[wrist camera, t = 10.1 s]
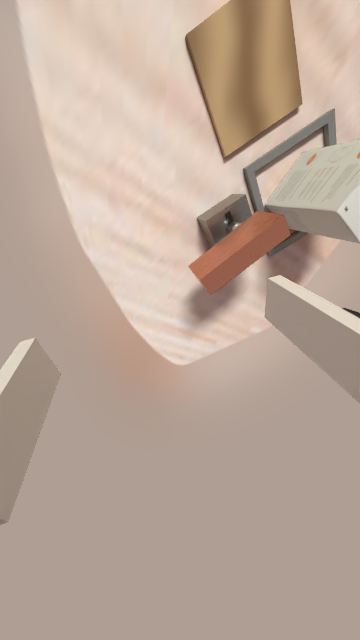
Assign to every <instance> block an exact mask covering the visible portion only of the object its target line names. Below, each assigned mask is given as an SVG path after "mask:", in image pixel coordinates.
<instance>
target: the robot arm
mask: <svg viewBox="0 0 360 640" xmlns="http://www.w3.org/2000/svg"><path fill="white" fill-rule="evenodd" d="M265 318H266V319H267V320H268V321H269V322H271V323H272V324H273V325H274V326H275V327H276V328H277V329H279V331H280V332H282V333H283V334H284V335H285V336H286V337H287V338H288V339H289V340H291V341H292V342H293V343H294V344H295V345H296V346H297V347H298V348H299V349H300V350H301V351H303V352H304V353H305V354H306V355H307V356H308V357H309V358H310V359H311V360H313V361H314V362H315V363H316V364H317V365H318V366H319V367H320V368H321V369H323V370H324V371H325V372H326V373H327V374H328V375H329V376H330V377H331V378H332V379H333V380H335V381H336V382H337V383H338V384H339V385H340V386H341V387H342V388H343V389H345V390H346V391H347V392H348V393H349V394H350V395H351V396H352V397H353V398H354V399H356V400H357V401H358V402H359V403H360V313H358V312H355V311H352V310H349V309H346V308H340V307H338V306H336V305H334V304H332V303H331V302H329V301H327V300H325V299H323V298H321V297H320V296H318V295H316V294H314V293H312V292H310V291H309V290H307V289H305V288H303V287H301V286H299V285H297V284H296V283H294V282H292V281H290V280H288V279H286V278H285V277H283V276H281V275H278V276H274V277H270V278H268V282H267V295H266V307H265ZM60 375H61V373H60V371H59V370H58V368H57V367H56V366H55V364H54V363H53V361H52V360H51V359H50V357H49V356H48V355H47V353H46V352H45V350H44V349H43V348H42V346H41V345H40V344H39V342H38V341H37V339H36V338H33V339H29V340H25V341H22V342H20V343H19V344H18V346H17V347H16V348H15V350H14V351H13V353H12V354H11V356H10V357H9V358H8V360H7V361H6V363H5V364H4V366H3V367H2V368H1V370H0V525H1V524H4V523H7V522H8V521H9V518H10V515H11V513H12V510H13V507H14V504H15V501H16V498H17V496H18V493H19V490H20V488H21V485H22V482H23V479H24V476H25V473H26V470H27V468H28V465H29V462H30V459H31V457H32V454H33V451H34V448H35V445H36V442H37V439H38V437H39V434H40V431H41V429H42V426H43V423H44V420H45V417H46V414H47V412H48V408H49V406H50V403H51V400H52V398H53V395H54V392H55V389H56V386H57V383H58V381H59V378H60Z"/></svg>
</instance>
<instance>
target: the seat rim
mask: <svg viewBox="0 0 360 640" xmlns="http://www.w3.org/2000/svg"><path fill="white" fill-rule="evenodd" d="M322 126H324V139H325V147H327V146H332V145H336V125H335V109H332V110H330V111H328V112H327V113H325V114H324V115H322V116H321V117H319V118H318V119H316V120H315V121H313V122H312V123H310V124H309V125H307V126H306V127H304V128H303V129H301V130H300V131H298V132H297V133H296V134H294V135H293V136H291V137H290V138H288V139H287V140H285V141H284V142H282V143H281V144H279V145H278V146H276V147H275V148H273V149H272V150H270V151H269V152H267V153H266V154H264V155H263V156H262V157H260V158H259V159H257V160H256V161H254V162H253V163H251V164H250V165H248V166H247V167H245V168H244V169H243V171H244V174H245V177H246V181H247V184H248V188H249V191H250V195H251V198H252V202H253V205H254V209H255V212H257V211H262V212H265V210H264V207H263V203H262V199H261V195H260V191H259V187H258V184H257V180H256V176H255V171H257V170H258V169H260V168H261V167H263V166H264V165H266V164H267V163H269V162H270V161H272V160H273V159H275V158H276V157H278V156H279V155H281V154H282V153H284V152H285V151H287V150H288V149H290V148H291V147H293V146H294V145H296V144H297V143H299V142H300V141H302V140H303V139H305V138H306V137H308V136H309V135H310V134H312V133H313V132H315V131H316V130H318V129H319V128H321V127H322ZM306 234H308V233H307V232H302V231H297V232H295V233H294V234H292V235H290V236H289V237H287V238H286V239H285V240H283V241H282V242H281V243H279V244H278V245H277V246H275V247H274V248H273V249H271V250H270V251H269V252H267V254H268V256H272V255H274V254H275V253H277V252H279V251H280V250H282V249H283V248H285V247H287V246H288V245H290V244H292V243H293V242H295V241H296V240H298V239H300V238H301V237H303V236H304V235H306Z"/></svg>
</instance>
